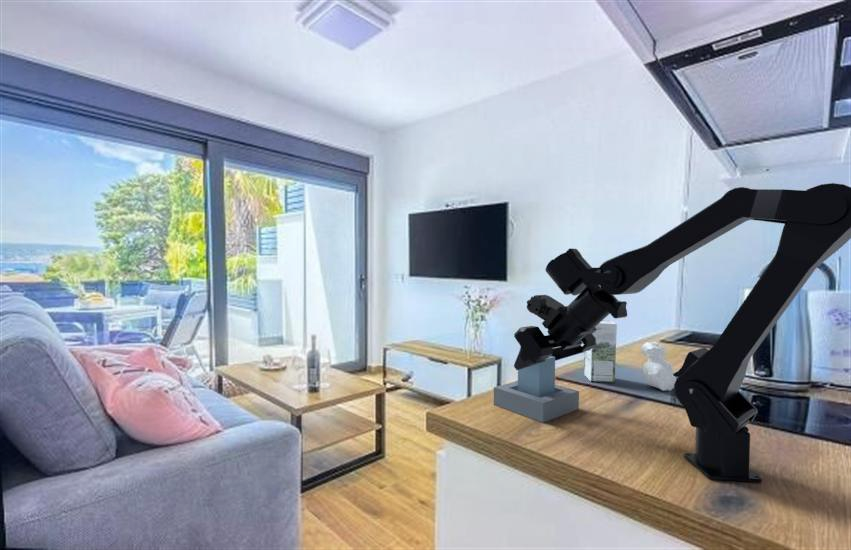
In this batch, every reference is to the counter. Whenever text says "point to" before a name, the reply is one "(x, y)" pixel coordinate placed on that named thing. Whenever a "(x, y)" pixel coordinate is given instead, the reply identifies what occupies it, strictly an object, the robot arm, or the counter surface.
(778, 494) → the counter surface
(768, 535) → the counter surface
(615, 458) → the counter surface
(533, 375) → the peg block
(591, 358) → the syrup box
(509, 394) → the box
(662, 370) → the duck figurine
